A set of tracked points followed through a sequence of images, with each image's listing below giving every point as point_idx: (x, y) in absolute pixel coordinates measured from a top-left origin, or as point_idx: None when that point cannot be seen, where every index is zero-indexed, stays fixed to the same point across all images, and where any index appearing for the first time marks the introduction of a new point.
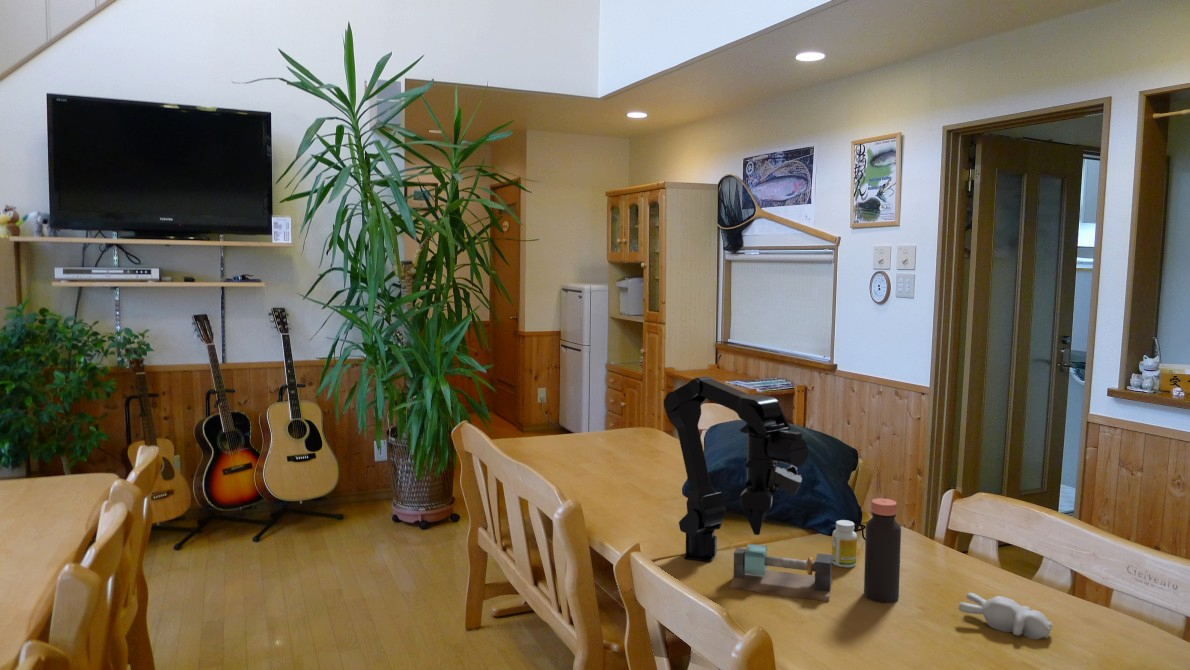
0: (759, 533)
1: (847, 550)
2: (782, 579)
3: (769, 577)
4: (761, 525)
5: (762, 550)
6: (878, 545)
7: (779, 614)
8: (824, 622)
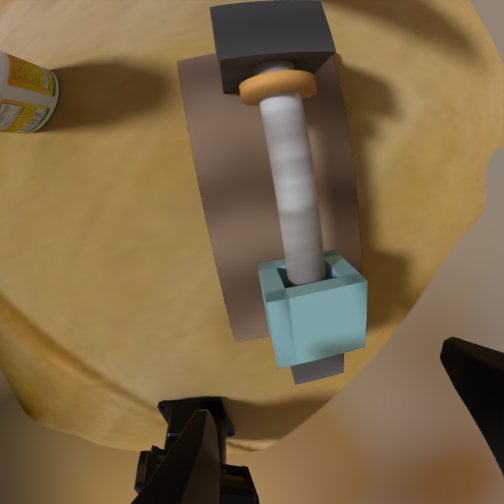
0: (458, 338)
1: (30, 67)
2: (271, 196)
3: (275, 239)
4: (486, 357)
5: (333, 299)
6: None
7: (442, 159)
8: (430, 64)
